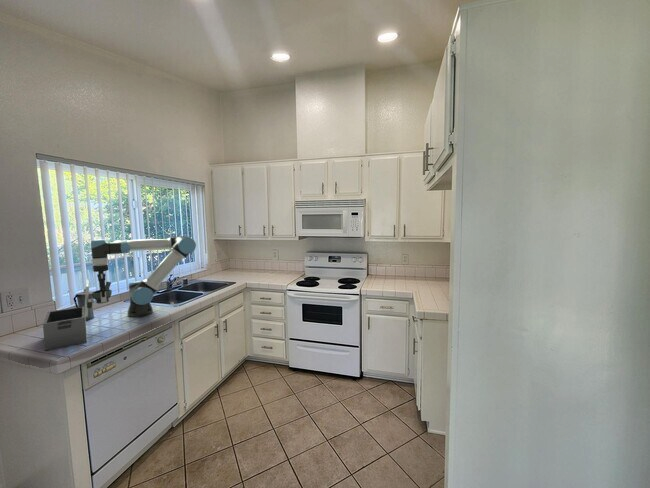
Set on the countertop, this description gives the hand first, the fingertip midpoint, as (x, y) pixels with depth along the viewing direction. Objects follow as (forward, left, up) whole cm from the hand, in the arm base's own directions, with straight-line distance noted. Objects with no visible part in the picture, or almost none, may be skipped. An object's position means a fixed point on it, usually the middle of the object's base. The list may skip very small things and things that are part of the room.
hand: (103, 300), depth 184 cm
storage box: (+17, +15, -16) cm, 28 cm away
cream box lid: (+8, +17, +6) cm, 20 cm away
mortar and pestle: (0, 0, -1) cm, 1 cm away
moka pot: (+9, -23, -16) cm, 30 cm away
